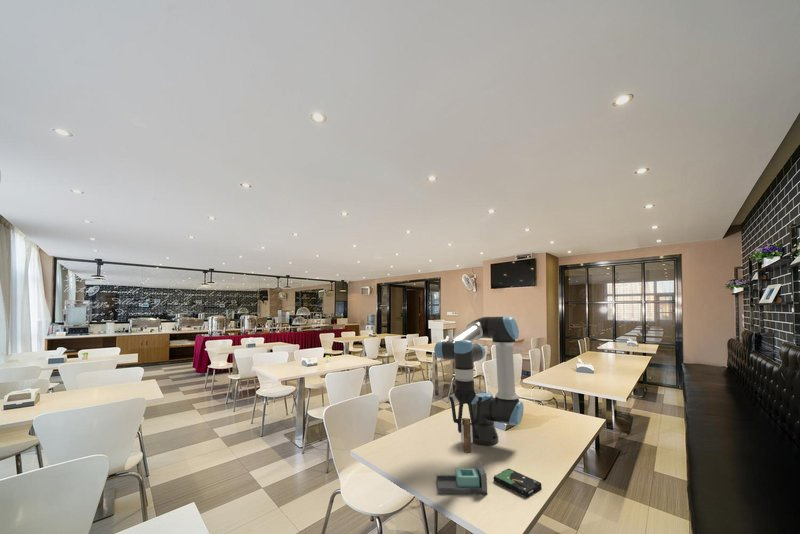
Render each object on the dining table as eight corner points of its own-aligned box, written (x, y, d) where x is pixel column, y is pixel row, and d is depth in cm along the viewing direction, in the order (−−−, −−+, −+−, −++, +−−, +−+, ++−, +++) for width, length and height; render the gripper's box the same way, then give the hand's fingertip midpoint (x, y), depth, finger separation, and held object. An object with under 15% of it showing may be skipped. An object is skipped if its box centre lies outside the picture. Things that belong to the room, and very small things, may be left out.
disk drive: (542, 490, 121) (508, 474, 133) (541, 482, 121) (508, 467, 133) (527, 500, 115) (493, 482, 127) (526, 491, 115) (492, 475, 127)
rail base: (481, 480, 127) (480, 461, 128) (487, 494, 117) (486, 474, 119) (436, 480, 128) (436, 461, 129) (438, 493, 118) (438, 473, 119)
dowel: (470, 449, 126) (469, 417, 128) (471, 453, 123) (470, 420, 125) (462, 449, 126) (461, 417, 128) (463, 453, 123) (462, 420, 125)
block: (476, 479, 126) (475, 468, 127) (479, 488, 119) (479, 477, 120) (455, 479, 126) (455, 468, 127) (458, 488, 120) (457, 477, 120)
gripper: (482, 377, 132) (484, 437, 128) (444, 377, 133) (445, 437, 129) (486, 381, 125) (489, 445, 121) (445, 381, 125) (447, 445, 122)
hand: (466, 441), depth 125 cm, fingers closed on dowel, 3 cm apart
